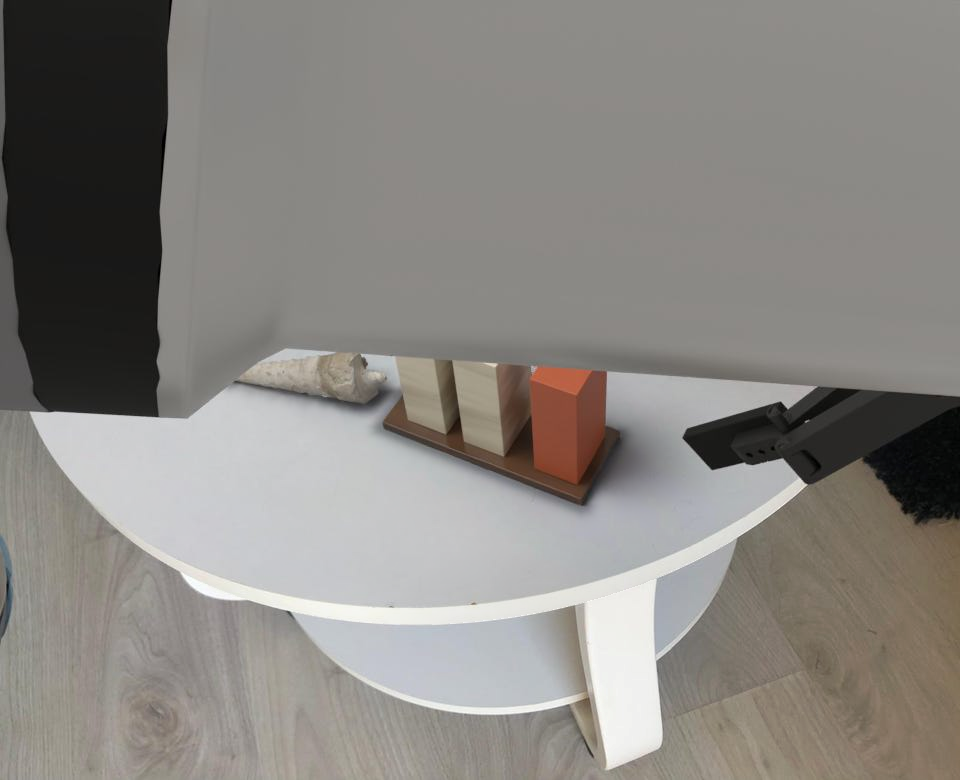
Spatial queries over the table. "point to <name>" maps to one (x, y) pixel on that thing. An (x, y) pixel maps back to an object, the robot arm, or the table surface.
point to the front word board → (514, 459)
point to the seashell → (320, 376)
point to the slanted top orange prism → (567, 419)
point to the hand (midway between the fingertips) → (739, 367)
